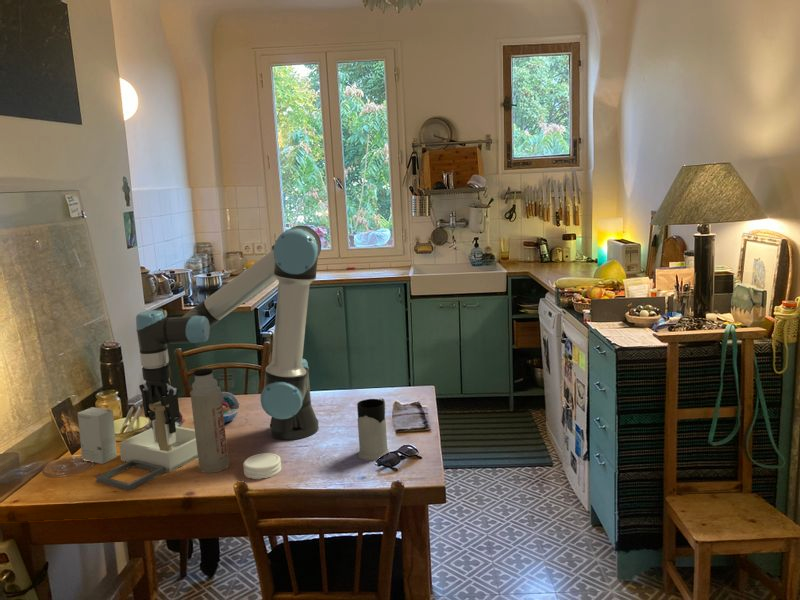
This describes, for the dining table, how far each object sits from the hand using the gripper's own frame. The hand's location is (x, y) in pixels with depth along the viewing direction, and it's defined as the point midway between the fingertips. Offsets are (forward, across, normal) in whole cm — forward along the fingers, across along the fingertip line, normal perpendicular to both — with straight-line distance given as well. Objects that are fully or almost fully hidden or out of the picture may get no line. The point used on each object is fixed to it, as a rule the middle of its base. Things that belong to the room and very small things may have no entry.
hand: (165, 441), depth 199 cm
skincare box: (+4, +17, +10) cm, 20 cm away
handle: (+3, 0, 0) cm, 3 cm away
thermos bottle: (+4, -19, 0) cm, 20 cm away
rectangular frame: (+4, -2, +14) cm, 15 cm away
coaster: (+5, -34, -2) cm, 34 cm away
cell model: (+4, +3, -28) cm, 28 cm away
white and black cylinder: (+4, -56, -26) cm, 62 cm away
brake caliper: (+5, +15, -14) cm, 21 cm away
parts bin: (+4, 0, 0) cm, 4 cm away
